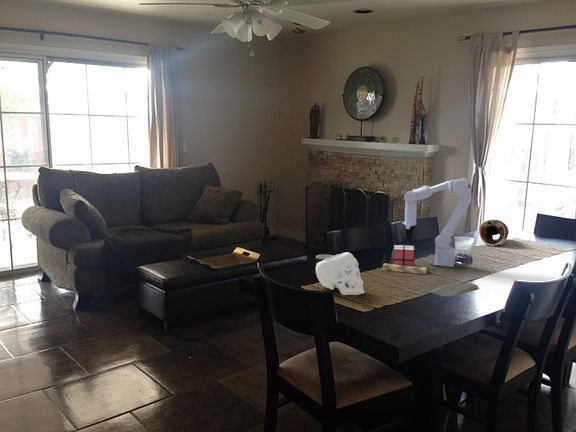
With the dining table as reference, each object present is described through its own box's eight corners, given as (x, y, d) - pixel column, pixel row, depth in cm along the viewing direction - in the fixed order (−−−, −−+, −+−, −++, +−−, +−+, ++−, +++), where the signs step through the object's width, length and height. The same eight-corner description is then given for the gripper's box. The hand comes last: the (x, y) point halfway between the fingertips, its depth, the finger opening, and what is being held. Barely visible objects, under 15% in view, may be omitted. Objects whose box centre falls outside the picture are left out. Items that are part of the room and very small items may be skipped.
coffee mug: (321, 281, 230) (322, 260, 228) (312, 277, 237) (312, 255, 236) (343, 278, 235) (344, 257, 233) (333, 273, 243) (333, 253, 241)
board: (426, 272, 244) (426, 267, 244) (425, 274, 241) (425, 269, 241) (384, 268, 252) (384, 263, 251) (382, 269, 249) (383, 264, 249)
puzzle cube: (413, 270, 248) (414, 250, 246) (392, 269, 250) (393, 249, 249) (413, 265, 258) (414, 245, 256) (393, 264, 260) (393, 244, 258)
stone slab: (480, 291, 220) (460, 283, 228) (481, 285, 219) (461, 277, 227) (446, 302, 208) (426, 293, 215) (447, 296, 207) (427, 287, 214)
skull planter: (358, 295, 204) (340, 251, 207) (322, 308, 217) (305, 266, 219) (376, 287, 214) (359, 245, 217) (340, 300, 227) (324, 260, 230)
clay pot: (513, 220, 315) (505, 218, 295) (514, 245, 314) (506, 245, 293) (488, 221, 323) (478, 219, 303) (489, 246, 322) (479, 245, 302)
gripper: (405, 211, 272) (404, 237, 274) (399, 216, 259) (399, 242, 261) (419, 212, 269) (418, 238, 271) (414, 216, 256) (413, 243, 258)
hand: (409, 240), depth 266 cm, fingers closed
